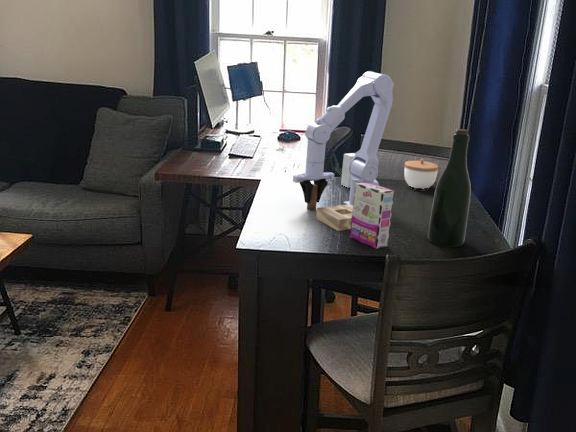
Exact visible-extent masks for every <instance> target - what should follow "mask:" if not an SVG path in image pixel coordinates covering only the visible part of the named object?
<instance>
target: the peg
mask: <svg viewBox="0 0 576 432" xmlns="http://www.w3.org/2000/svg"><path fill="white" fill-rule="evenodd" d="M312 184H313V185H314V186H313V188H312V192H311V200H310V203H306V210H307V211H311V212H312V211H313V212H314V211H317V203H318V202H317V191H318V185H315V184H314V183H312Z"/></svg>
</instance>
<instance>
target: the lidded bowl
mask: <svg viewBox="0 0 576 432" xmlns="http://www.w3.org/2000/svg"><path fill="white" fill-rule="evenodd" d="M439 167H440V166H439V165H438V164H436V163H434V162H432V161H431V162H430V161H425V159H424V158H420V160H408V161H407V160H406V161H405V162H404V170H403V171H404V174H403V175H404V180H405V182H406V184H407V185H408V187H409V186H411V187H414V188H422V189H424V188H428V189H429V188H430V187H432V186H433V185H434V184H435V182H436V180H437V176H438V172H439Z"/></svg>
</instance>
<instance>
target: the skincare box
mask: <svg viewBox="0 0 576 432" xmlns="http://www.w3.org/2000/svg"><path fill="white" fill-rule="evenodd" d="M355 153H356V152H351V153H350V152H349V153H343V161H342V169H341V170H342V172H341V179H340V180H341V181H340V185H341V186H342V185H343V186H342V187H344V186H345V188H346V187H347V188H348V189H349V188H351V173H350V172H349V163H350V162H351V160H352V159H353V158H354V155H355ZM347 188H346V189H347Z"/></svg>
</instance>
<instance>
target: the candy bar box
mask: <svg viewBox="0 0 576 432" xmlns="http://www.w3.org/2000/svg"><path fill="white" fill-rule="evenodd" d="M394 197H395V190H393V189H390V188H387V187H384V186H380V185H379V186H378V185H375V184H372V183H369V182H361V183H355V192H354V201H353V211H352V221H351V229H350V233H349V238H350V239H353V240H355V241H357V242H360V243H362V244H364V245H367V246H369V247H371V248H373V249H375V250H376V249H377V250H378V249H382V248H383V249H384V248H386V247H389V246H388V245H389V239H390V231H391V221H392V215H393V206H394V199H395V198H394Z"/></svg>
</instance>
